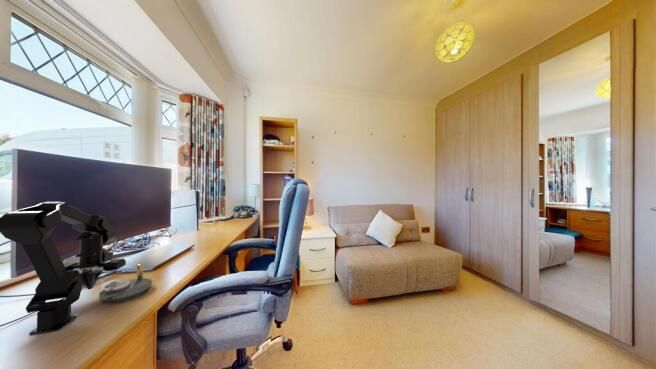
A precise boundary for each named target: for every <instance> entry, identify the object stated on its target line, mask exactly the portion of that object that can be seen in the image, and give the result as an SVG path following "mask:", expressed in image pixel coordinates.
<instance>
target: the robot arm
mask: <svg viewBox="0 0 656 369" xmlns="http://www.w3.org/2000/svg"><path fill="white" fill-rule="evenodd" d="M60 222H65V223H68V224H70V225H71V226H72V229H73V230H75V231H76V232H78V233H81V234H80V235H78V236H77V237H76V238H75V240H76V241H79V249H80V250H79V252H80V253H79V254H76V257H79V263H78V262H75V263H65V264H63V262H62V257H61V255H60V253H59V251H58V249H57V247H56V244H55V242H54V240H53V238H52V233H53V232H54V230H55V228H57V223H60ZM0 233H1V235H2V236H3V237H4V238H5V239H7V240H9V241H13V242H14V243H17V244H20V246H21V248H22V249H23V251H24V254H25V255H26V257H27V260H28V261H29V263H30V265H31V266H32V269H34V271H35V273H36V275H37V277H38V279H39V282H38V285H37V286H36V287H35V294H34V295H33V297H32V298H31V299H30V301H29V303H28V304H27V305H26V306H25V311H26V313H27V314H31V313H35V312H37V313H36V328H34V329H33V330H31V331H29V334H28V335H34V334H42V333H47V332H48V333H49V332H52V331H53V332H54V331H58V330H60V329H62V328H63V327H65V326H66V325H68V324H69V323H70V322H71V321H73V320H75V319H76V318H77V314H75V315H72V305H73V304H74V303H76V302H77V301H78V300H80V298H81V292H82V289H83V285H84V286H85V288H86V289H87V290H92V289H93V288H94V287H95V284H96V282H97V281H98V278H99V277H100V275H101V274H102V272H103V271H105V272H110V271H116V270H119V269H121V268H123V267H124V266H126V265H127V264H126V263H127V260H126V259H125V258H124V257H123V258H114V259H113V257H114V251H107V250H106V248H105V247H103V245H104V244H107V243H109V242H112V241H114V240H116V238H118V233H117V231H116V230H115V229H113V228H112V225H111V223H110V222H109V220H108V219H107V217H105V216H104V215H99V214H88V213H86V212H84V211H82V210H80V209H78V208H76V207H74V206H71V205H70V204H69V203H68V202H66V201H45V202H40V203H38V204H36V205H33V206H29V207H25V208H20V209H17V210H14V211H9V212H5V213H4V214H3V215H1V216H0ZM58 299H59V300H58ZM51 300H52V301H51Z"/></svg>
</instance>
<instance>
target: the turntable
mask: <svg viewBox="0 0 656 369" xmlns="http://www.w3.org/2000/svg"><path fill="white" fill-rule="evenodd" d="M129 280H130V286H129V287H128V288H126V289H124V290H121V291H118V292H114V293H105V288H104V289H102V290H101V291H100V292H99V293H98V300H99V301H100V302H112V301H118V300H123V299H127V298H130V297H133V296H136V295H139V294H141V293H143V292H145V291H147V290H148V289H149V290H150V289H151V288H152V285H153V280H152V279H151V278H146V277H145V278H144V263H139V264H136V278H135V279H129ZM149 290H148V291H149ZM148 291H147V292H148Z"/></svg>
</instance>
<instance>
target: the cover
mask: <svg viewBox="0 0 656 369" xmlns="http://www.w3.org/2000/svg"><path fill="white" fill-rule="evenodd" d="M130 280H131V279H129V278H118V279H116V280H113V281H111V282H109V283H107V284H105V286H104V289H105V293H114V292H118V291H121V290H124V289H126V288H128V287H129V286H130Z"/></svg>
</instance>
